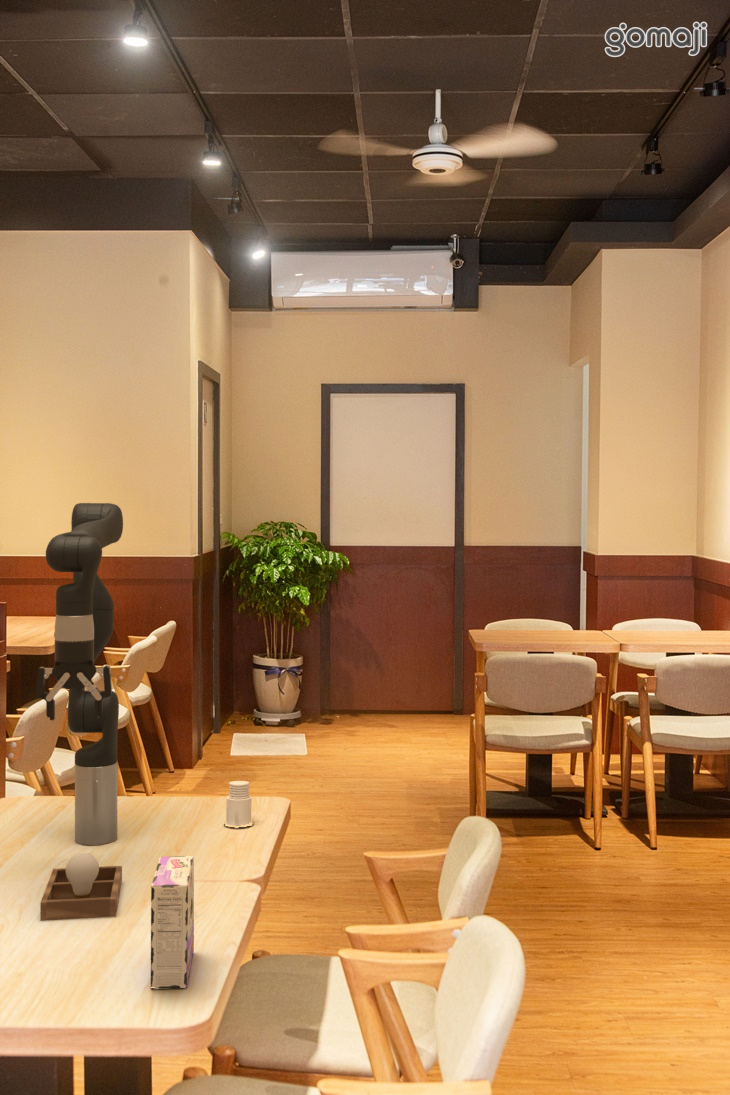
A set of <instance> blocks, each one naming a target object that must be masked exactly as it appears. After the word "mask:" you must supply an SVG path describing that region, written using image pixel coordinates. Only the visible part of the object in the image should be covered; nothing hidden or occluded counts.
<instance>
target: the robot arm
mask: <svg viewBox="0 0 730 1095" xmlns="http://www.w3.org/2000/svg"><path fill="white" fill-rule="evenodd" d="M123 516H124V515H123V512H122V509H121V507H120V506H118V504H116V503H115V504H114V503H112V502H111V503H110V502H104V503H103V502H100V503H99V502H96V503H95V502H80V503H79V502H78V503H76V504H74V506H73V508H72V512H71V522H70V523H71V526H70V528H71V530H70V531H69V532H64V533H60V534H57V535H54V536H53V537H52V538H51V539H50V541H49V542H48V544H47V547H46V549H45V560H46V563H47V565H48V566H49V567H50V568H51V569H52V570H53V571H55V572H59V573H72V583H65V584H61V585H60V586H58V587H57V588H56V590H55V622H54V632H53V636H54V637H53V638H54V665H53V667H45V666H40V667H39V668H38V669H37V676H36V677H37V679H36V695H35V696H36V698H37V699H40V700H44V701H45V704H46V705H45V706H46V708H45V709H46V710H45V712H46V713H45V715H46V717H47V718H49V721H54V720H55V719H56V716H55V715H56V700H55V699H54V698H55V697H56V695H57V694H58V693H59V691H60V690H61V689H62V688H63V689H65V690H68V699H67V700H68V701H67V724H68V727H69V730H70V731H71V732H72V733H77V734H80V733H81V734H83V733H85V734H86V733H87V734H88V733H90V734H91V733H94V734H95V733H96V734H98V733H101V734H102V737H101V738H100V739H98V740H97V741H95V742H93V743H92V744H88V745H85V746H83V747H80V748H79V749H77V750H76V751H75V753H74V841H75V843H77V844H79V845H85V846H86V845H87V846H96V845H97V846H99V845H105V844H109V843H112V842H114V841H115V840H117V839H118V734H119V733H118V731H119V730H118V729H119V717H120V716H119V712H120V703H119V696H118V695H117V693H116V692H115V691H113V690H112V689H113V688H112V675H111V674H112V673H111V667H110V665H105V666H99V667H98V666H96V665H95V662H96V661H97V659H98V657H99V656H100V654H101V653H102V651H103V650H104V648H105V647H106V645H107V644H108V643H109V641H110V639H111V637H112V635H113V632H114V622H115V621H114V616H115V615H114V614H115V612H114V611H115V610H114V609H115V605H114V604H115V603H114V600H113V597H112V595H111V593H110V592H109V590H108V588H107V587H106V586H105V584H104V582H103V581H102V579H101V578H100V577H99V575H98V570H99V567H100V565H101V561H102V557H103V549H104V548H106V547H108V546H110V545H112V544H115V543H117V542H118V541H120V539H121V538H122V534H123V531H124V530H123V529H124V517H123ZM51 674H52V675H53V677H54V678H55V680H56V681H57V682H56V683H55V685H54V686H53V688H52V689H51V690H50V692H46V691H45V690H46V689H45V688H46V687H45V686H46V680H47V679H49V676H50V675H51ZM96 674H98V675H99V677H100V678H101V679H103V686H104V687H103V688H104V690H100V689H99V688H98V687H97V685H96V683H95V682H94V681H93V678H94V676H96ZM85 689H86V690H85Z"/></svg>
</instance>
